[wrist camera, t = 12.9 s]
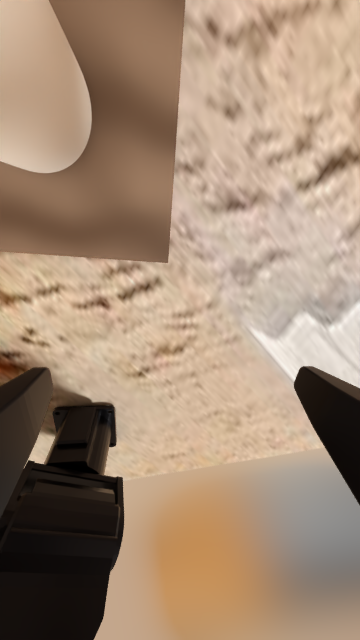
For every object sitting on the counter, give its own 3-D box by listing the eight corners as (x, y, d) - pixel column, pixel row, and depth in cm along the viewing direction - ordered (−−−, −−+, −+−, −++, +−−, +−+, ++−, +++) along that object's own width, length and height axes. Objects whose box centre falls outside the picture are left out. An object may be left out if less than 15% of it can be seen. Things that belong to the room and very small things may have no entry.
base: (165, 257, 19) (168, 262, 16) (-49, 241, 16) (-81, 245, 14) (184, -43, 12) (192, -104, 10) (-177, -145, 10) (-278, -256, 7)
